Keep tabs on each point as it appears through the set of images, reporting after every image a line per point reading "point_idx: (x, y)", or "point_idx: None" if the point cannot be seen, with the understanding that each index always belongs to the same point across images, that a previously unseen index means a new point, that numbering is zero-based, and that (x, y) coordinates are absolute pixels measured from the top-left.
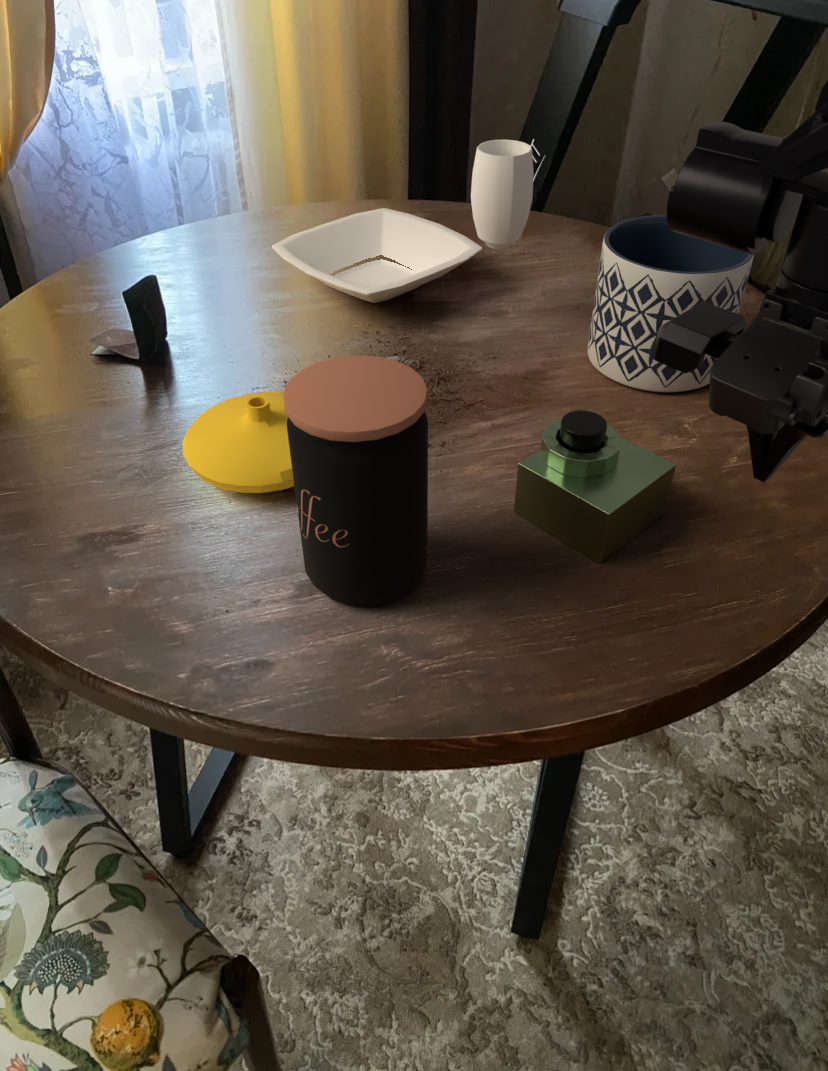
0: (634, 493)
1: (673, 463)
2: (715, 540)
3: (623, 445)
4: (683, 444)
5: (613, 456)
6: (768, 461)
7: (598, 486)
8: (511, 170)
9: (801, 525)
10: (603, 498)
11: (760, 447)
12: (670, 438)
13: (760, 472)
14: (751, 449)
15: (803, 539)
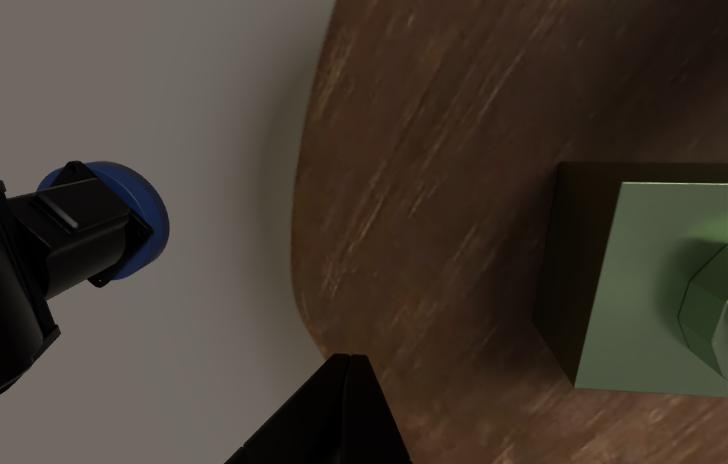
0: (605, 271)
1: (580, 387)
2: (445, 318)
3: (692, 377)
4: (580, 457)
5: (712, 319)
6: (315, 405)
7: (684, 241)
8: None
9: None
10: (656, 216)
11: (352, 445)
12: (603, 458)
13: (347, 371)
14: (389, 424)
15: None
